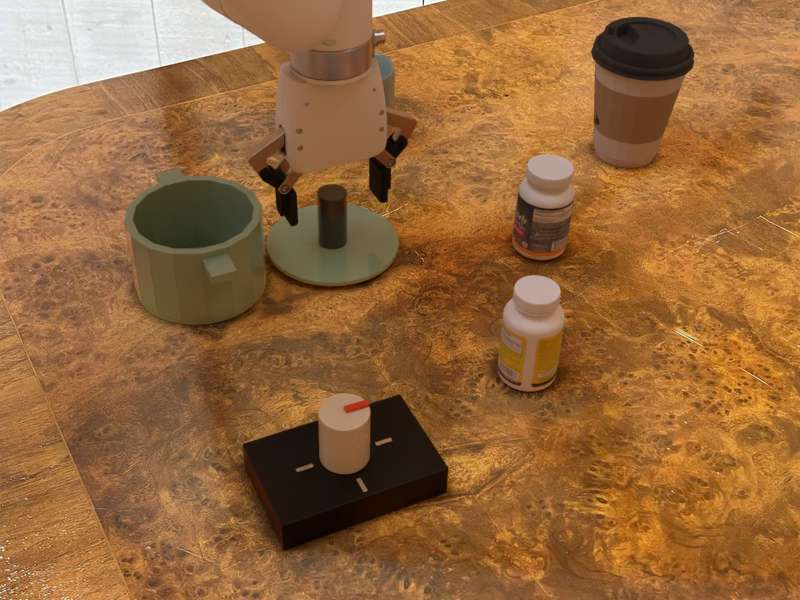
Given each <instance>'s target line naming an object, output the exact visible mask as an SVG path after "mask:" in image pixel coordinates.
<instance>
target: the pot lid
mask: <svg viewBox="0 0 800 600" xmlns="http://www.w3.org/2000/svg"><path fill="white" fill-rule="evenodd" d="M397 232H398V231H397V230H396V229H395V227H394V225H392V223H391V222H390V221H389V220H388V219H387V218H386V217H384V216H382V215H381V214H379V213H378V212H376V211H373V210H371V209H369V208H367V207H363V206H359V205H355V204H351V203H348V190H347V189H346V188H345V187H344V186H342V185H340V184H337V183H329V184H328V183H327V184H325V185H322V186H320V187H319V188H318V189H317V190H316V204H311V205H307V206H304V207H300V208H298V224H297V225H296V226H292V227H291V226H290V224H289V222H288V221H287V219H286V218H285V216H281V217H280V219H278V220H277V221H276V222H275V223H274V224H273V225H272V226H271V228H270V229H269V232H268V234H267V236H266V241H265V243H266V245H265V248H266V253H267V256H268V258H269V260H270V262H271V263H272V264H273V266H274V267H275V268H276V269H277V270H278V271H279V272H281V273H283V274H284V275H286V276H287V277H289V278H291V279H293V280H296V281H299V282H301V283H304V284H309V285H313V286H321V287H343V286H350V285H355V284H360V283H362V282H365V281H368V280H371V279H373V278H375V277H377V276H378V275H380V274H382V273H384V271H386V270H388V268H389V267H390V266H391V265H392V264H393V263H394V261H395V260H396V258H397V256H398V253H399V249H400V248H399V247H400V240H399V235H398V233H397Z"/></svg>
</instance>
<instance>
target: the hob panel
mask: <svg viewBox="0 0 800 600" xmlns="http://www.w3.org/2000/svg"><path fill="white" fill-rule="evenodd" d="M369 407H370V412H371V413H370V458H369V461H368V463H367V464H366V466H365V467H364V468H362V469H361V470H359V471H357V472H355V473H351V474H337V473H334V472H331V471H329V470H328V469H326V468H325V467H324V466H323V464H322V463H321V461H320V456H319V424H318V419H317V420H313V421H311V422H307V423H304V424H301V425H298V426H295V427H292V428H288V429H285V430H281V431H278V432H275V433H272V434H269V435H265V436H264V437H263V436H262V437H259V438H257V439H253V440H250V441H247V442H244V443H242V444H241V445H242V455H243V463H244V466H243V467H244V470H245V472H246V475H247V477H248V479H249V480H250V483H251V485H252V487H253V489H254V491H255V493H256V495H257V498H258V500H259V502H260V504H261V506H262V509H263V511H264V513H265V515H266V517H267V519H268V521H269V523H270V525H271V528H272V530H273V533H274V535H275V537H276V539H277V540H278V543H279V544H280V547H281V549H282V551H288V550H290V549H292V548H295V547H298V546H300V545H304V544H306V543H309V542H312V541H314V540H317V539H320V538H323V537H326V536H329V535H332V534H334V533H337V532H340V531H343V530H345V529H348V528H351V527H353V526H357V525H359V524H363V523H365V522H368V521H371V520H373V519H376V518H379V517H382V516H385V515H387V514H390V513H393V512H397V511H398V510H402V509H404V508H408V507H410V506H413V505H415V504H418V503H421V502H424V501H426V500H429V499H432V498H435V497H438V496H440V495H443V494H446V493H447V490H448V480H449V467H448V464H447V463H446V462H445V460H444V459H443V457H442V456H441V454H440V452H439V451H438V450H437V447H435V445H434V443H433V442H432V441H431V439H430V437H429V436H428V434H427V433H426V431H425V430H424V429H423V427H422V425H421V424H420V422H419V421H418V419H417V417H416V416H415V415H414V413H413V412H412V410H411V408H410V407H409V406H408V404H407V403H406V401H405V399H404V397H402V395H401V394H400V393H399V394H395V395H393V396H390V397H385V398H383V399H380V400H376V401H373V402H370V403H369Z"/></svg>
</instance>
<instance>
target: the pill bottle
mask: <svg viewBox="0 0 800 600" xmlns="http://www.w3.org/2000/svg"><path fill="white" fill-rule="evenodd" d="M525 170H526V171H525V177H524V178H523V179H522V180H521V182H520V184H519V186H518V189H517V190H518V191H517V199H516V206H515V213H514V214H515V215H514V221H513V228H512V236H511V237H512V238H511V240H512V241H511V242H512V245H513V247H514V249H515V251H517V252H518V253H519V254H520V255H521V256H523V257H525V258H527V259H531V260H535V261H548V260H549V261H550V260H553V259H556V258H558V257H560V256H561V255H562V254H563V253H564V251H565V250H566V249H567V244H568V238H569V233H570V227H571V222H572V216H573V211H574V204H575V197H576V191H575V187H574V184H573V183H572V182H573V181H574V174H575V167H574V165H573V163H572V162H571V161H570V160H569V159H567V158H566V157H564V156H561V155H557V154H552V153H543V154H538V155H534V156H533V157H531V158H530V159H529V160H528V162H527V163H526V169H525Z"/></svg>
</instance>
